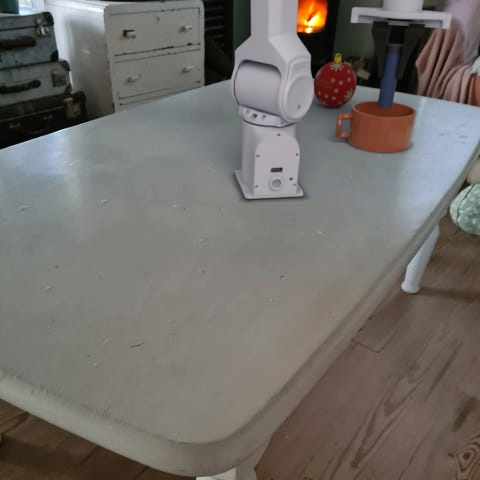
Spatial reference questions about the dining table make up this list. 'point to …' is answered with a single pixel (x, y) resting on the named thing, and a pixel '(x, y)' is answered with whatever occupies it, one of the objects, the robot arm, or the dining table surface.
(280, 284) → the dining table surface
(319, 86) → the christmas ornament
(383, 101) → the glue stick
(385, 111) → the mug
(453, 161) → the dining table surface
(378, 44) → the robot arm
